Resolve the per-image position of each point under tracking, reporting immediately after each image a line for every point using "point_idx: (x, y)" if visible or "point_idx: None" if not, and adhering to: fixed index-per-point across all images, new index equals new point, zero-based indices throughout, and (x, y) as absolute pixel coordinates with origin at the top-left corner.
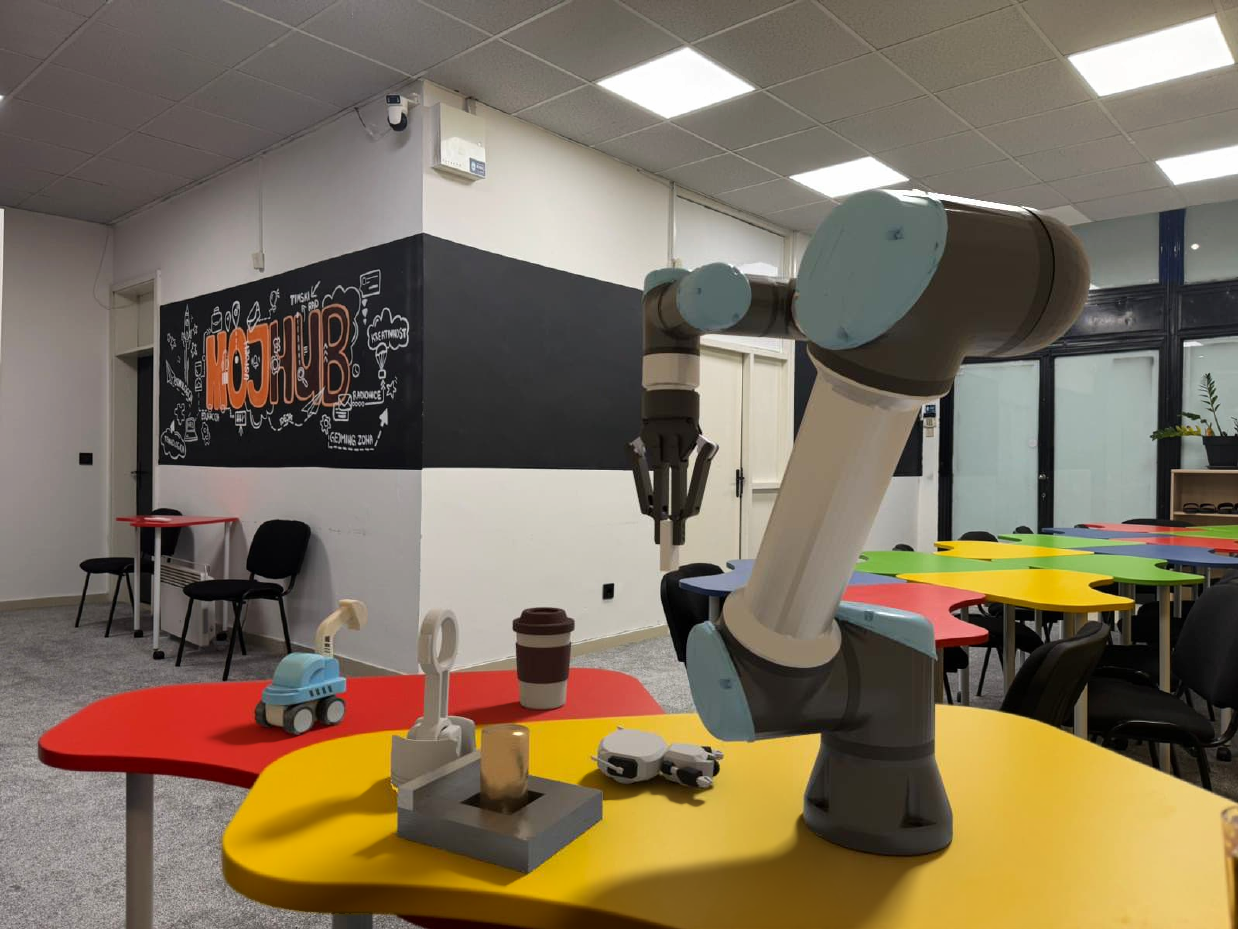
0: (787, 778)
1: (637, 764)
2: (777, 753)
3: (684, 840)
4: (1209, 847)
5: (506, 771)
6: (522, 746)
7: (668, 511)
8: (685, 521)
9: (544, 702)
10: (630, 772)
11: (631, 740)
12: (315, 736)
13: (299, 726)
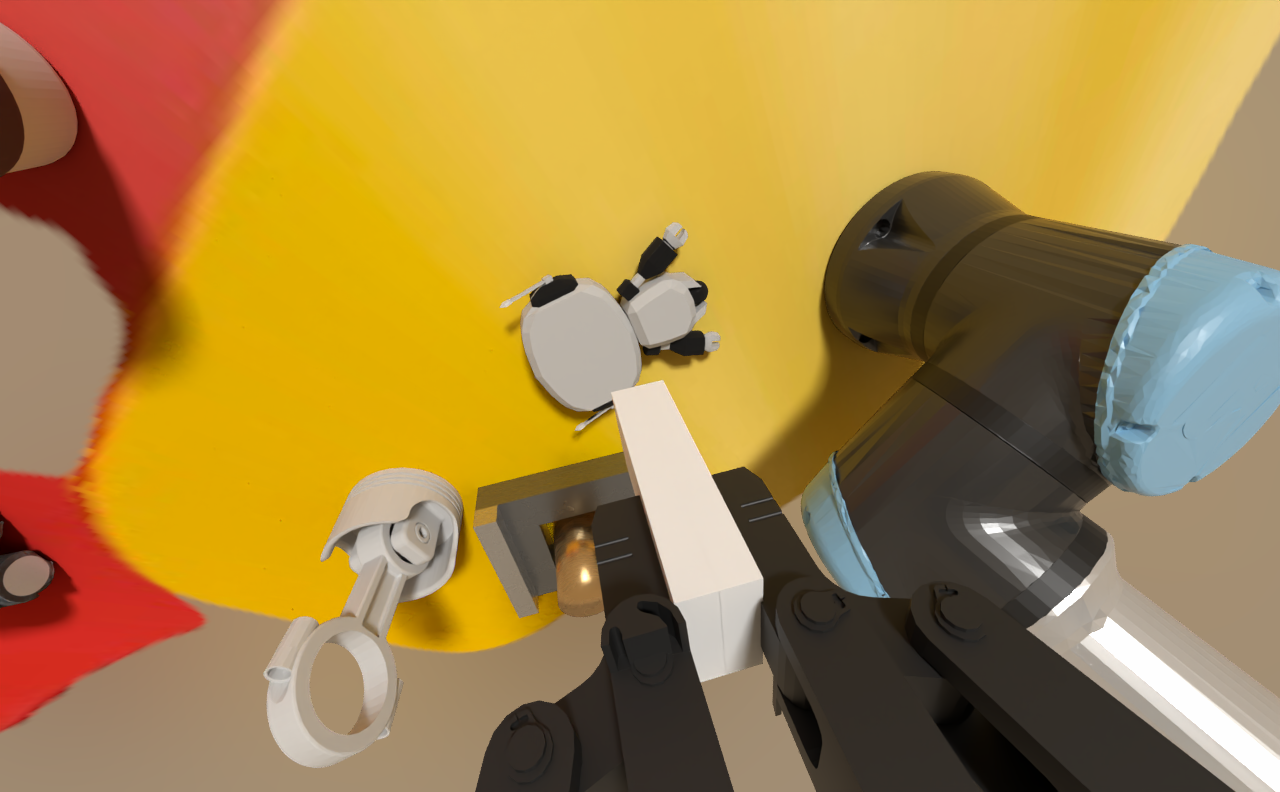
0: (775, 186)
1: None
2: (722, 61)
3: (733, 427)
4: (1264, 57)
5: None
6: None
7: (700, 687)
8: (826, 579)
9: (62, 145)
10: None
11: (579, 353)
12: (69, 545)
13: (40, 573)
